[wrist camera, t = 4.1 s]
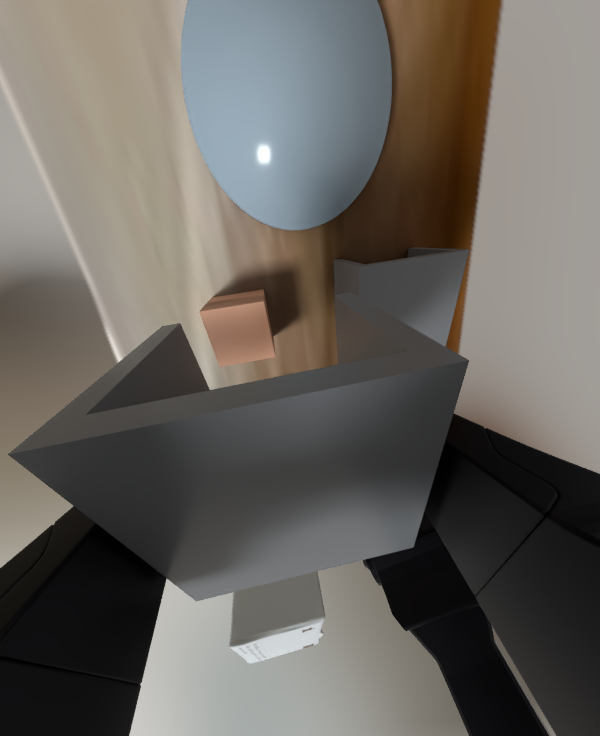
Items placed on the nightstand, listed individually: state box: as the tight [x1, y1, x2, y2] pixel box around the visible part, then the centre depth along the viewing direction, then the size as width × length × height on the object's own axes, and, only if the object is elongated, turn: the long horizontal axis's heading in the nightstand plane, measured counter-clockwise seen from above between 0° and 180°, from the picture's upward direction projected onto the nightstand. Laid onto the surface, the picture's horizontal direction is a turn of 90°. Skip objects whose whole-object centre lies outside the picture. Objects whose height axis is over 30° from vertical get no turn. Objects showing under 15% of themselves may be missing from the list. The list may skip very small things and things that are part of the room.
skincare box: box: [229, 571, 325, 663], centre depth 21 cm, size 8×6×15 cm
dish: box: [181, 0, 392, 231], centre depth 12 cm, size 11×11×1 cm
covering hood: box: [8, 292, 469, 601], centre depth 7 cm, size 7×7×5 cm
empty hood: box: [334, 247, 469, 347], centre depth 16 cm, size 7×7×5 cm
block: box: [200, 289, 275, 367], centre depth 16 cm, size 4×4×4 cm
